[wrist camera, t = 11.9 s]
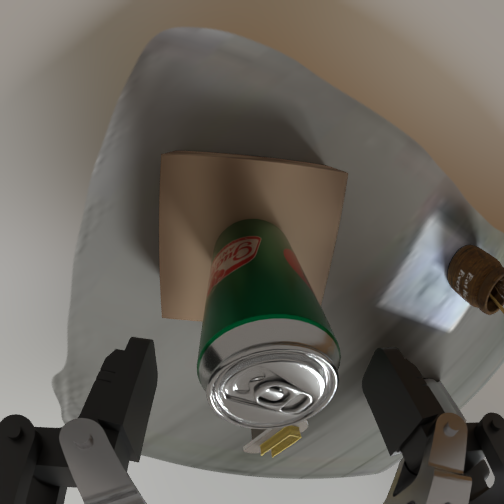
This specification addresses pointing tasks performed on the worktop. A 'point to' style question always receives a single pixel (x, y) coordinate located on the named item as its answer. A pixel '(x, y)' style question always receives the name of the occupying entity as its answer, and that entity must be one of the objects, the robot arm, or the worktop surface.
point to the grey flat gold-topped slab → (274, 438)
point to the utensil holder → (478, 278)
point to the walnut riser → (240, 217)
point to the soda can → (264, 333)
